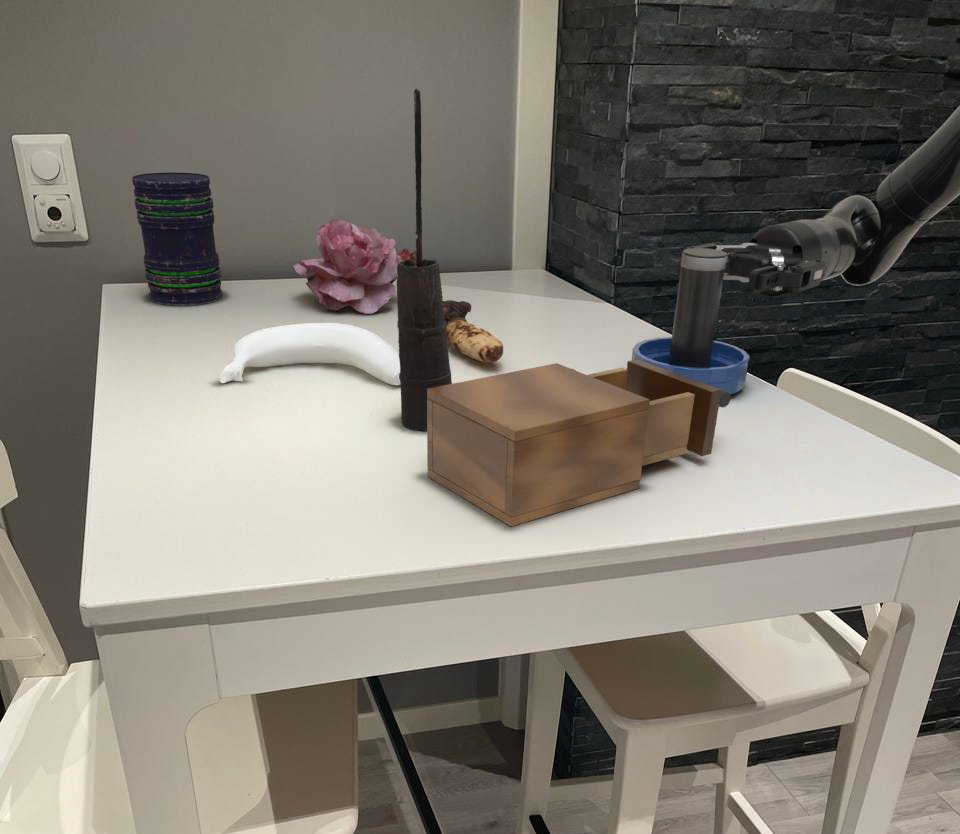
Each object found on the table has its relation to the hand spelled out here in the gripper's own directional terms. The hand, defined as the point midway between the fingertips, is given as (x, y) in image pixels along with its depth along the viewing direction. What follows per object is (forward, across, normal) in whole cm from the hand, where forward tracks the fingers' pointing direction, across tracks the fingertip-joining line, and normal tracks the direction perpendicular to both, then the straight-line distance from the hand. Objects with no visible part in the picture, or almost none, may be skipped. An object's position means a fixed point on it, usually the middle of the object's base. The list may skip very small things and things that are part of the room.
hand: (716, 275), depth 101 cm
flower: (+7, -52, +11) cm, 53 cm away
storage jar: (+22, -68, +11) cm, 73 cm away
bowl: (+3, 0, +11) cm, 11 cm away
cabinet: (+35, +6, +11) cm, 38 cm away
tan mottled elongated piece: (+14, -25, +11) cm, 31 cm away
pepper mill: (+3, 0, +10) cm, 11 cm away
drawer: (+24, +8, +10) cm, 27 cm away
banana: (+31, -28, +11) cm, 44 cm away
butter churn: (+31, -11, +11) cm, 35 cm away
